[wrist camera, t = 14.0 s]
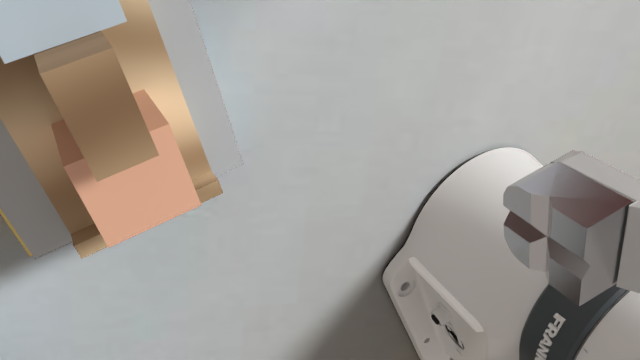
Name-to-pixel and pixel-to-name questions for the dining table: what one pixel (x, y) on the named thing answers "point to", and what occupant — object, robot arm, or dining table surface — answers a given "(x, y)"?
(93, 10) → the block
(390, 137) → the dining table surface
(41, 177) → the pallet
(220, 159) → the dock
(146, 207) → the block
